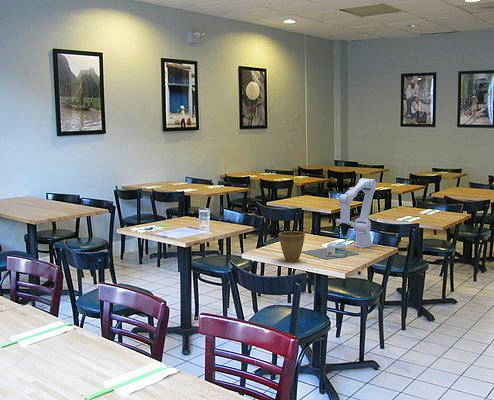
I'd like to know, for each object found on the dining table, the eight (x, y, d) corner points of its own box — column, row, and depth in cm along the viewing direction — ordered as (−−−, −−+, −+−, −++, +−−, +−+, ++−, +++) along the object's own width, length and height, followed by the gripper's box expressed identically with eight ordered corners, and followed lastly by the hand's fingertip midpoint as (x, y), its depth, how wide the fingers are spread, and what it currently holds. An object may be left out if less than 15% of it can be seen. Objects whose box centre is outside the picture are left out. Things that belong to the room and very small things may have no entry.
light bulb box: (346, 242, 349) (345, 246, 339) (345, 253, 350) (344, 257, 340) (328, 241, 352) (326, 245, 341) (327, 252, 352) (326, 256, 342)
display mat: (332, 247, 369) (332, 246, 369) (358, 254, 349) (358, 253, 349) (300, 252, 354) (300, 251, 354) (326, 259, 335) (326, 259, 335)
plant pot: (302, 257, 340) (303, 230, 338) (305, 263, 326) (306, 235, 324) (277, 257, 340) (277, 230, 338) (279, 263, 325) (279, 235, 323)
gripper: (332, 212, 359) (332, 234, 361) (348, 215, 347) (348, 238, 349) (340, 211, 363) (340, 233, 365) (357, 214, 351) (356, 236, 353)
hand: (344, 235), depth 357 cm, fingers closed
